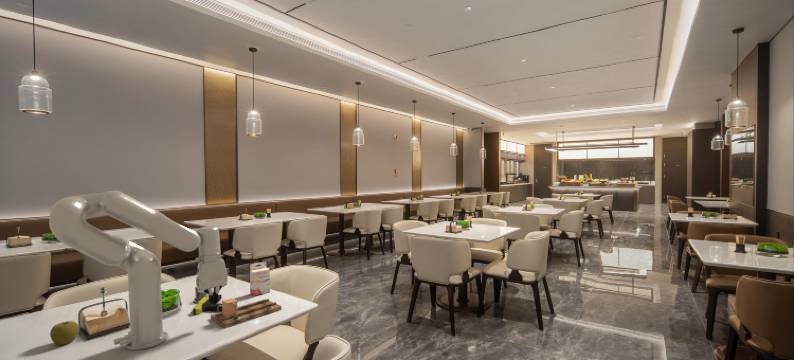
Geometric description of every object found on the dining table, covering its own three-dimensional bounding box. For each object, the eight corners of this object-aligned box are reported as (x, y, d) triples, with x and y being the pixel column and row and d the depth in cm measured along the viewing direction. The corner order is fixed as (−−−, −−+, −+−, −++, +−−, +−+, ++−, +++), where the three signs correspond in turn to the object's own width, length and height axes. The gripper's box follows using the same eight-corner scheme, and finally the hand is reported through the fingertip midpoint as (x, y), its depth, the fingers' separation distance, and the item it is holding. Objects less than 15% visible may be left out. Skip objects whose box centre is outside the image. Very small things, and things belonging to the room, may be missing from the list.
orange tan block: (231, 320, 143) (231, 305, 143) (222, 315, 149) (222, 300, 149) (241, 317, 146) (241, 302, 145) (232, 312, 152) (231, 297, 151)
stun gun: (238, 292, 175) (204, 294, 173) (227, 306, 156) (189, 309, 154) (238, 298, 175) (205, 300, 173) (227, 313, 157) (189, 316, 154)
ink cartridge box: (253, 296, 176) (252, 266, 175) (250, 293, 180) (248, 264, 179) (270, 292, 181) (269, 262, 181) (267, 289, 185) (266, 261, 185)
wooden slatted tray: (225, 328, 140) (224, 318, 140) (210, 318, 150) (210, 309, 150) (281, 309, 157) (281, 301, 157) (265, 302, 167) (265, 294, 167)
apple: (79, 336, 137) (78, 317, 136) (79, 343, 131) (78, 323, 130) (51, 342, 132) (50, 323, 131) (50, 350, 126) (49, 330, 125)
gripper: (193, 264, 135) (196, 312, 136) (233, 255, 146) (236, 299, 147) (186, 261, 140) (190, 307, 141) (225, 252, 151) (229, 295, 152)
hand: (213, 303), depth 144 cm, fingers closed
